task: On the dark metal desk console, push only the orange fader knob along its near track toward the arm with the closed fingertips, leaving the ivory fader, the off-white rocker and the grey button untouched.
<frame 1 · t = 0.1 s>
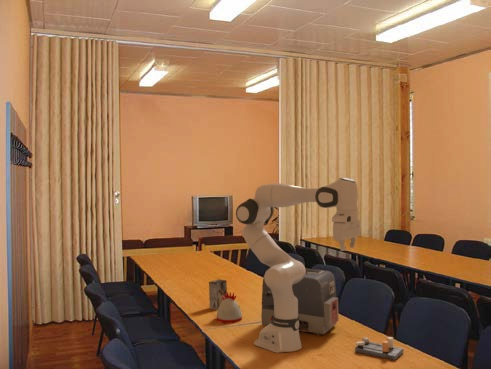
hand: (347, 249, 212), 48 cm above the table, fingers open, 8 cm apart
kitchen timer: (229, 319, 274), on the table
fader orange: (385, 346, 217), point 4 cm above the table, slide at 0.0 cm
button: (365, 340, 229), point 3 cm above the table, slide at 0.0 cm
fader ivory: (390, 342, 222), point 4 cm above the table, slide at 0.0 cm
console: (379, 352, 222), on the table
coffee box: (218, 308, 297), on the table
rocker: (360, 343, 224), point 3 cm above the table, hinge at -12.0°
film projector: (301, 327, 258), on the table
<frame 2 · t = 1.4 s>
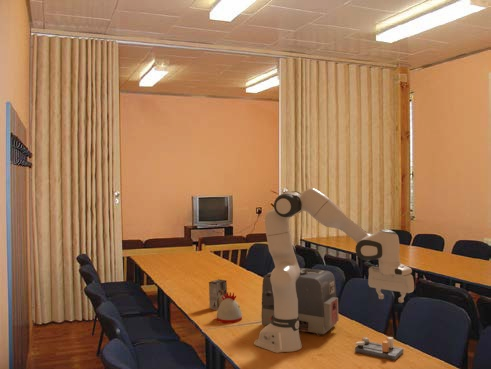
hand: (391, 300, 212), 26 cm above the table, fingers open, 8 cm apart
nothing on the table moved.
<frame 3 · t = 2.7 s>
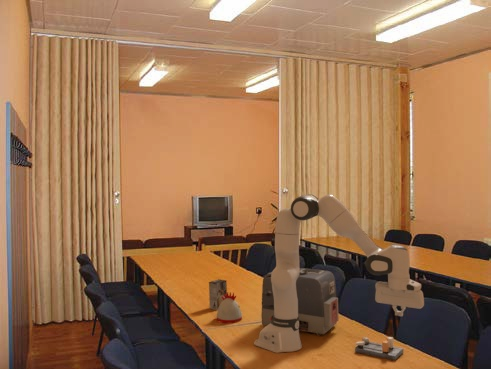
hand: (399, 315, 213), 19 cm above the table, fingers closed
nothing on the table moved.
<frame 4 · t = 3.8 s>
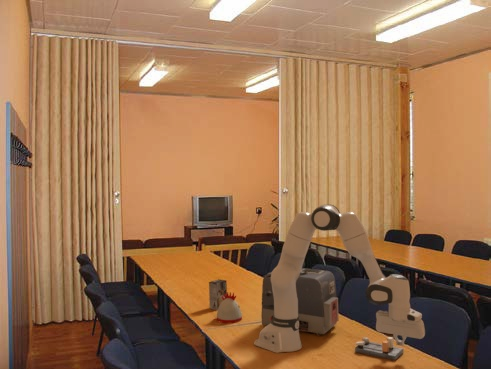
hand: (400, 345, 214), 6 cm above the table, fingers closed
nothing on the table moved.
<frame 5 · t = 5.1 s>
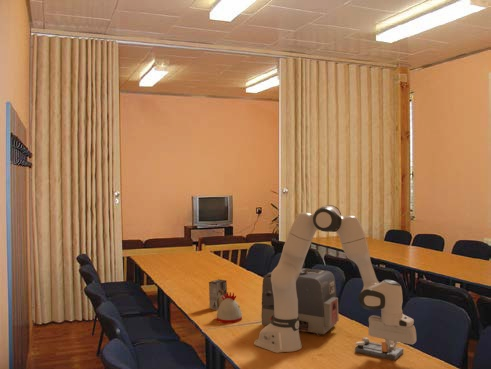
hand: (391, 350, 216), 3 cm above the table, fingers closed
fader orange: (384, 346, 217), point 4 cm above the table, slide at 0.3 cm, touching gripper
everything else where it was.
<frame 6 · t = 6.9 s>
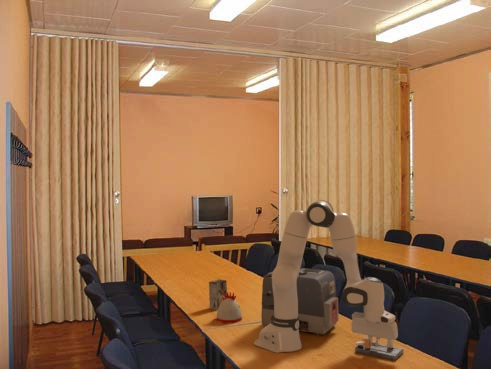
hand: (374, 345, 220), 4 cm above the table, fingers closed
fader orange: (367, 342, 222), point 4 cm above the table, slide at 8.1 cm, touching gripper
everything else where it was.
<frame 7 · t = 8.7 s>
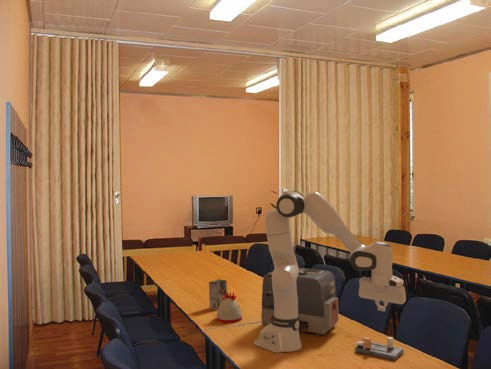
hand: (381, 310, 218), 20 cm above the table, fingers closed
fader orange: (367, 342, 222), point 4 cm above the table, slide at 8.1 cm
everything else where it was.
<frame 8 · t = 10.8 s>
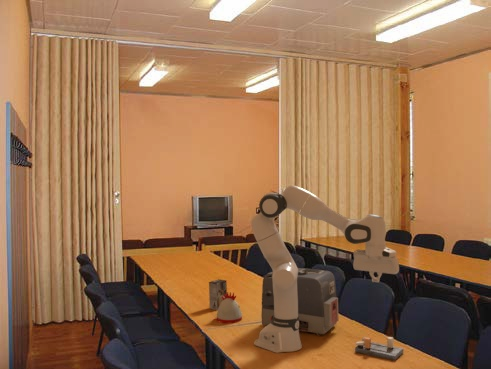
hand: (375, 281, 224), 31 cm above the table, fingers closed
nothing on the table moved.
at the end: fader orange slide at 8.1 cm; fader ivory slide at 0.0 cm; rocker at -12° (first picture: -12°) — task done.
